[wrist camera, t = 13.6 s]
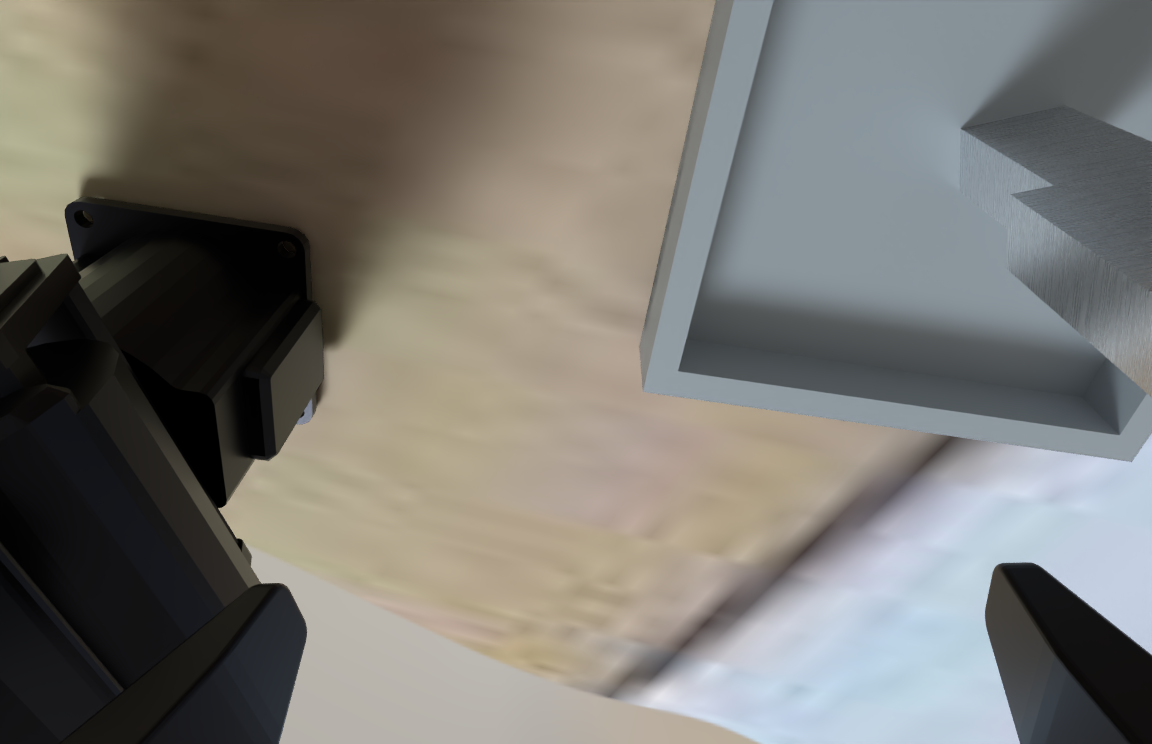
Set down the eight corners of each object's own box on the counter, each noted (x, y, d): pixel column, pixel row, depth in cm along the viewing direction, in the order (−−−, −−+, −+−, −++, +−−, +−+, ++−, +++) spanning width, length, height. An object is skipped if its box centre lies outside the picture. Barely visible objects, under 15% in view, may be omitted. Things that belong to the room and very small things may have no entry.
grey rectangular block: (926, 197, 19) (1228, 466, 10) (926, 135, 18) (1255, 364, 9) (1093, 162, 19) (1584, 413, 9) (1101, 97, 18) (1645, 299, 9)
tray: (639, 346, 23) (643, 391, 20) (769, -243, 15) (796, -269, 13) (1083, 411, 23) (1131, 461, 21) (1412, -124, 16) (1535, -129, 14)
